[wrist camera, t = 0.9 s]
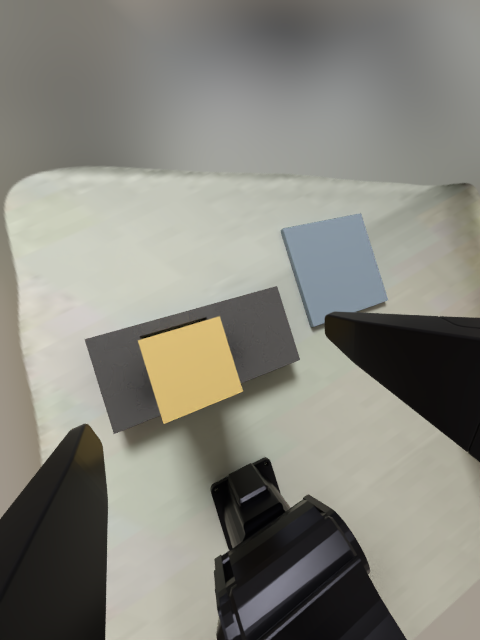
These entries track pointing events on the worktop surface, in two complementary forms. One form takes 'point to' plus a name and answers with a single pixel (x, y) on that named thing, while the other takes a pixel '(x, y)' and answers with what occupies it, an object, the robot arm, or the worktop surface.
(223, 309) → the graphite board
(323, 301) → the slate mat
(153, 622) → the worktop surface
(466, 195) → the worktop surface
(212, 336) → the mustard block
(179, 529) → the worktop surface
